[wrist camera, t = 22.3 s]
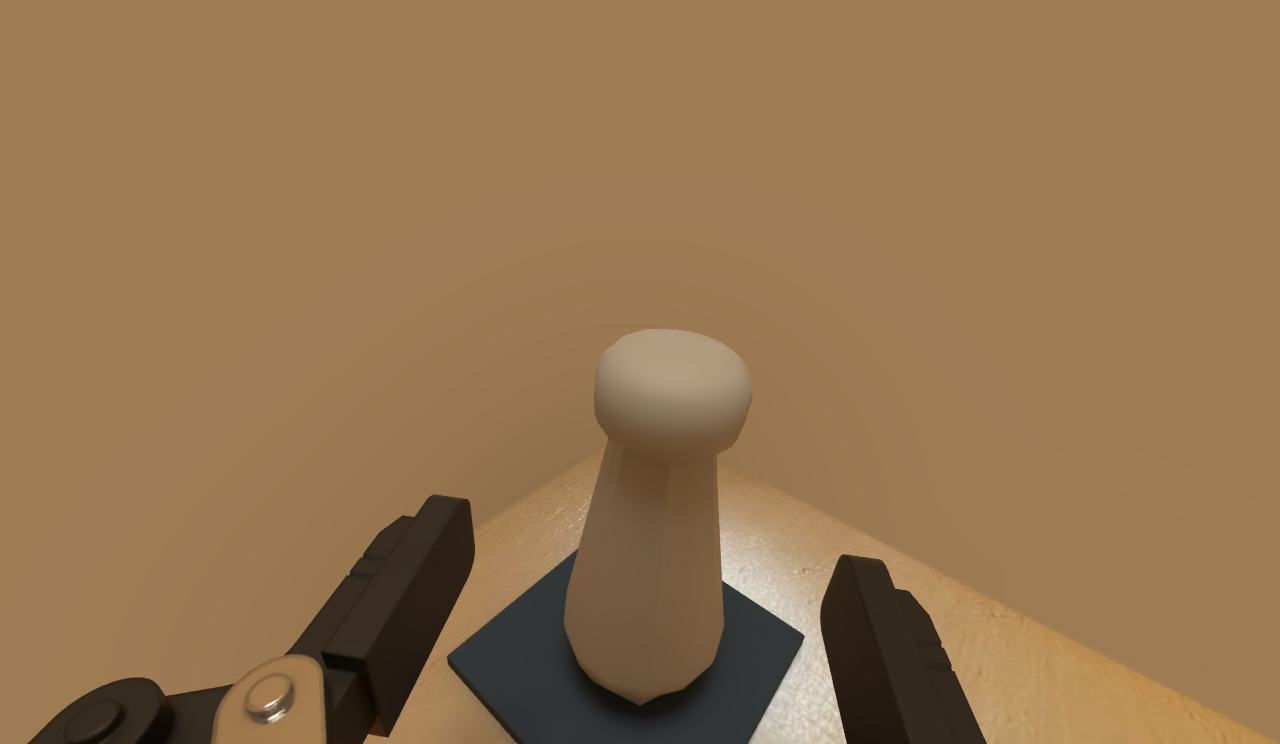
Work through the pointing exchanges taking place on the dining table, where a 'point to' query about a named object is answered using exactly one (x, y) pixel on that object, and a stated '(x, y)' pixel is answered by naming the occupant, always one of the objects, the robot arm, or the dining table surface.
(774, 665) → the mat
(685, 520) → the salt shaker
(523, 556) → the dining table surface
